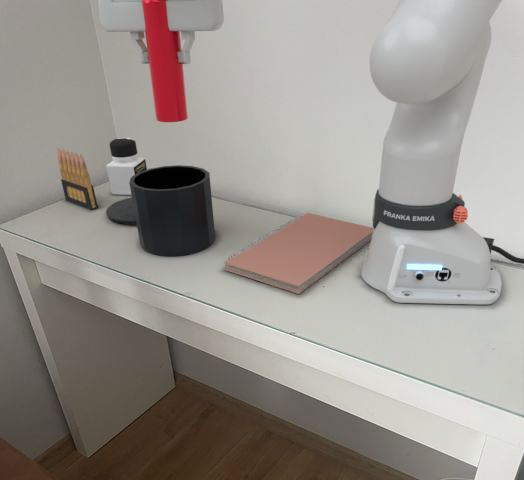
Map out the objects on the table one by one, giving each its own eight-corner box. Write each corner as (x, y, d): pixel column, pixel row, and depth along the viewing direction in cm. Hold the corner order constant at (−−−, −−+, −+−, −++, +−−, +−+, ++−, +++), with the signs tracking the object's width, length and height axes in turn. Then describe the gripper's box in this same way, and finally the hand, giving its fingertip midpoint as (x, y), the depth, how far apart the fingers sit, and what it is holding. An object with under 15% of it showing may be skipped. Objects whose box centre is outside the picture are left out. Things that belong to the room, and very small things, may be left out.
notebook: (303, 219, 111) (303, 210, 110) (375, 237, 103) (376, 227, 102) (219, 269, 94) (218, 259, 93) (298, 295, 85) (299, 284, 84)
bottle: (167, 114, 95) (151, -22, 83) (193, 116, 93) (181, -23, 81) (150, 120, 91) (131, -22, 79) (177, 123, 89) (161, -22, 77)
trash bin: (225, 229, 108) (220, 167, 101) (198, 260, 97) (190, 193, 90) (161, 223, 112) (152, 163, 105) (127, 252, 101) (114, 187, 94)
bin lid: (189, 203, 122) (186, 180, 119) (159, 229, 110) (155, 205, 106) (128, 198, 126) (124, 176, 123) (93, 223, 113) (88, 199, 110)
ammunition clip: (98, 207, 121) (86, 154, 114) (91, 210, 120) (79, 156, 113) (72, 198, 127) (59, 146, 120) (65, 200, 126) (52, 148, 119)
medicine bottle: (139, 195, 127) (130, 143, 120) (111, 194, 128) (101, 143, 121) (150, 186, 132) (142, 135, 125) (123, 185, 134) (114, 135, 127)
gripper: (81, -39, 79) (100, 65, 87) (208, -45, 74) (216, 66, 82) (103, -39, 84) (119, 60, 92) (223, -44, 79) (230, 61, 87)
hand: (166, 63), depth 87 cm, fingers closed on bottle, 5 cm apart
